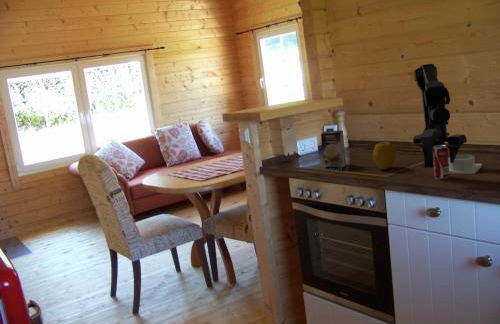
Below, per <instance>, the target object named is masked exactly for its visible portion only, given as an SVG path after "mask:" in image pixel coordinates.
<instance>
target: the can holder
mask: <svg viewBox="0 0 500 324" xmlns="http://www.w3.org/2000/svg"><path fill="white" fill-rule="evenodd" d="M475 160H476V159H475V155H473V154H456V157H455V160H454V162H453V163H451V162H450V156H448V163H449V175H475V174H476V173H478V171H479V170H480V169H481V168H482V167H483V163H476V161H475Z"/></svg>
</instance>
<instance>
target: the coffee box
mask: <svg viewBox="0 0 500 324" xmlns="http://www.w3.org/2000/svg"><path fill="white" fill-rule="evenodd" d="M320 139H321V147H322V155H323V156H322V157H323V166H324V167H337V168H345V166H346V165H347V159H346V148H345V139H344V131H343V130H329V131H327V130H326V131H323V132H321V133H320Z"/></svg>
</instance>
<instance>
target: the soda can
mask: <svg viewBox="0 0 500 324" xmlns="http://www.w3.org/2000/svg"><path fill="white" fill-rule="evenodd" d="M432 153H433V165H434V167H433V176H434V179H436V180H447V179H449V178H450V174H449V163H448V157H449V152H448V147H447V145H446V144H445V145H436V146H433V150H432Z"/></svg>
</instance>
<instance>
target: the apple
mask: <svg viewBox="0 0 500 324" xmlns="http://www.w3.org/2000/svg"><path fill="white" fill-rule="evenodd" d="M372 159H373V162H374V163H375V165H376V166H377V167H378V168H379V169H380V170H388V169H391V168H392V167H393V165H394V163H395V162H396V159H397V151H396V148H395V146H394V145H393V144H392V143H391V142H390V141H382V142H379V143H377V144H375V146H374V148H373V151H372Z"/></svg>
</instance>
